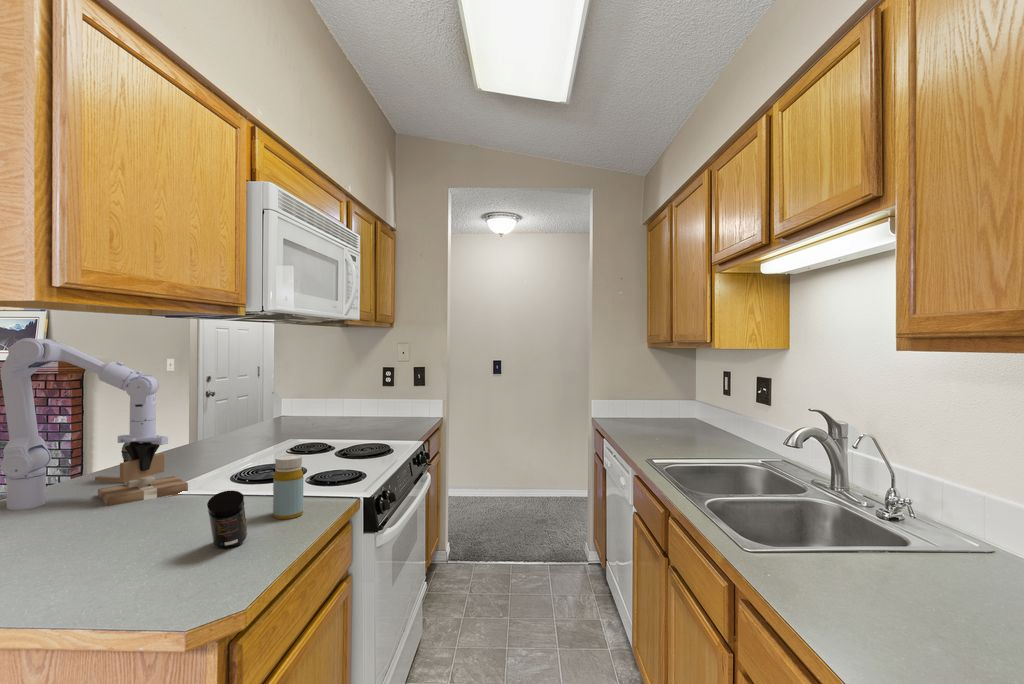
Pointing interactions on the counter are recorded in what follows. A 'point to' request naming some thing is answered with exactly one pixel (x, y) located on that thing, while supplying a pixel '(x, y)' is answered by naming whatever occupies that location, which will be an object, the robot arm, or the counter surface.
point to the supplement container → (227, 519)
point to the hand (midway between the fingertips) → (142, 470)
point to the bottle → (288, 487)
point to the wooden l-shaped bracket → (135, 470)
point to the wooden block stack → (142, 490)
